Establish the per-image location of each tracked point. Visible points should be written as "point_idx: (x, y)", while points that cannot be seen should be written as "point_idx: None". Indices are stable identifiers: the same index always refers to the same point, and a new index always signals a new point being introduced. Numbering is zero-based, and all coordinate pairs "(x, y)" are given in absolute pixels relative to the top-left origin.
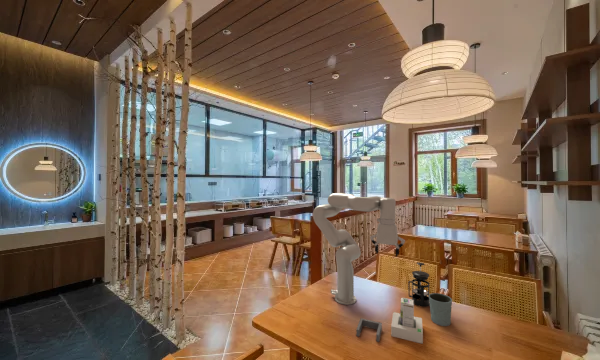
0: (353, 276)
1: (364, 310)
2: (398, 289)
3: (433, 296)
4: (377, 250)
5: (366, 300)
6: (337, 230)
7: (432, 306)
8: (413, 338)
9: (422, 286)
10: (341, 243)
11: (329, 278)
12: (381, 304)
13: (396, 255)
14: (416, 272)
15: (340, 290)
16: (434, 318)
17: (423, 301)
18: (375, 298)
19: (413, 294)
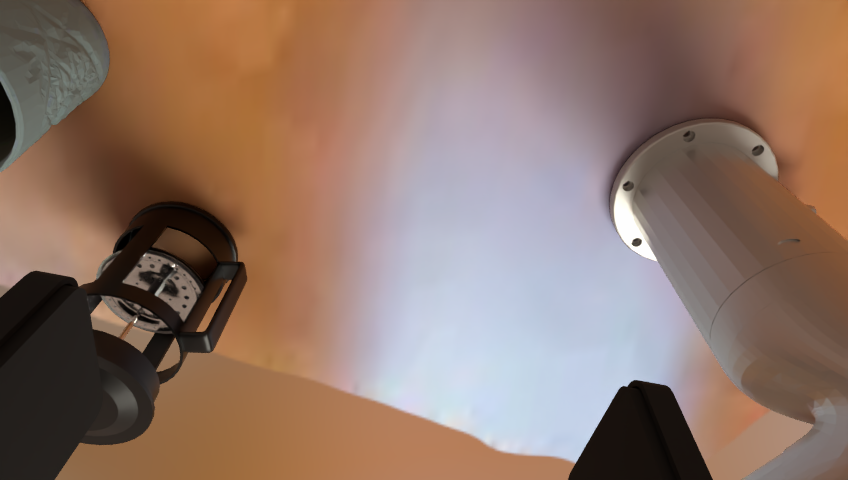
0: (704, 302)
1: (572, 69)
2: (314, 371)
3: (4, 153)
4: (661, 467)
5: (535, 210)
6: None
7: (23, 35)
8: None
9: (101, 287)
10: None
11: (737, 425)
12: (436, 178)
13: (36, 288)
14: (111, 410)
15: (785, 188)
16: (66, 10)
17: (150, 222)
18: (469, 246)
19: (215, 295)
